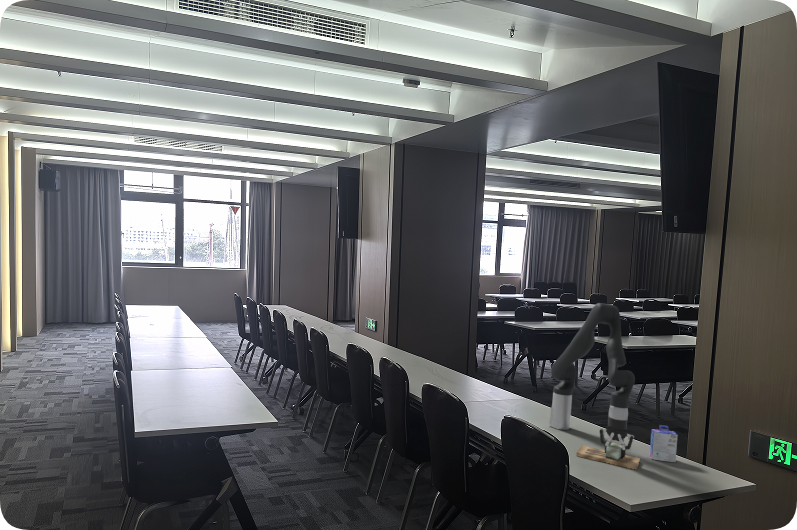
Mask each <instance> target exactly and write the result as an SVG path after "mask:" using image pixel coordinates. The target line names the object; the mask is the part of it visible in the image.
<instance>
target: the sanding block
mask: <svg viewBox="0 0 797 530" xmlns="http://www.w3.org/2000/svg"><path fill="white" fill-rule="evenodd" d="M621 452H622V446H621V444H620V443H616V442H614V441H613V442H610V443H609V446H607V448H606V458H609V459H612V460H616V461H619V460H620V459H621Z"/></svg>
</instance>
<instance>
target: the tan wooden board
mask: <svg viewBox="0 0 797 530" xmlns="http://www.w3.org/2000/svg"><path fill="white" fill-rule="evenodd" d="M575 455H576V457H578V456H579V458H583V459H587V458H588V460H591V461H597V462H600V461H601V463H604V462H606V463H605V464H608V463H610V464H609V465H613V464H614V465H613V466H617V465H619V466H618V467H621V466H623V467H622V468H625V467H627V468H626V469H630V468H632V469H631V470H634V469H635V470H634V471H637V470H638V467H639V464H640V463H641V458H640V457H636V456H631V455H627V454H625V457H623V459H622V458H621V459H620V460H619V461H616V460H612V459H609V458H606V453H605V449H600V448H596V447H591V446H587V445H581V446H580V448H578V449H577V452H576V454H575ZM639 462H640V463H639Z"/></svg>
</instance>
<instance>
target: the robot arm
mask: <svg viewBox="0 0 797 530" xmlns="http://www.w3.org/2000/svg"><path fill="white" fill-rule="evenodd" d="M620 313H621V312H620V310H619V308H618V306H616V305H614V304H609V303H602V302H598V303H595V305H594V306H592V308H591V310H590V312H589V314H588V315H587V318H586V320H585V321H584V323H583V324H582V326H581V328H580V329H579V330H578V331H577V333H576V334H575V336H574V337H573V339H572V340H571V342H570V343H569V344H568V345H567V347H566V348H565V349H564V351H563V352H562V353H561V355H560V356H559V357H558V358H557V359H556V360H555V361H554V362H553V364H552V366H551V367H550V368H551V369H550V375H551V377H552V378H553V379H554V380H557V381H560V382H559V383H558V384H556V385H554V386H553V391H552V403H551V407H550V414H549V415H550V416H549V427H551V428H553V429H557V430H564V431H565V430H567V431H568V430H569V429H570V426H571V415H572V404H573V403H572V401H573V392H574V390H575V385H576V384H575V382H576V377H577V369H576V366H575V364H574V363H575V362H577V361H579V360H580V359H582V358H584V357H585V356H587V355H588V353H589V352H590V351H591V349H592V348H593V347H594V345H595V342H596V339H595V338H596V337H595V330H596V328H597V326H598V325H599V324H602V325H608V326H609V329H610V334H609V337H608V340H607V342H606V345H605V351H606V355H607V360H608V370H607V371H608V372H607V373H608V374H607V380H608V383H609V384H610V385H611V386H612V387H617V388H618V387H620V389H619V390H615V391H612V392H611V394H610V403H609V409H608V418H607V428H603V427H602V428H600V429H599V439H600V443H601V444H602V445H604V446H605V447H604V450H605V453H606V448H607V446H609V445H610V444H611V441H617V442H619V444H621V446H622V452H621V458H622V459H623V457H625V455H626V452H627V451H628V450H631V447H632V444H633V442H634V438H635V435H634V434H629V433H628V430H627V429H628V417H629V410H628V409H629V399H630V396H631V393H632V390H633V388H634V386H635V382H636V378H635V377H636V376H635V374H634V373H633V372H632V371H631V370H629V369H628V370H627V369H626V370H624V369H618V368H621V367H624V366H625V365H626V364H627V359H626V354H625V351H624V347H623V343H622V342H623V341H622V339H623V338H622V327H621V324H622V323H621V314H620ZM605 434H607V436H608V438H607V441H606V439H605ZM626 437H627V440H628V443H627V445H626V442H625V438H626ZM626 450H627V451H626Z"/></svg>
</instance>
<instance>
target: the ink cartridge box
mask: <svg viewBox="0 0 797 530" xmlns="http://www.w3.org/2000/svg"><path fill="white" fill-rule="evenodd" d="M650 432H651V433H650V448H649V458H651V460H655V461H662V462H663V461H664V462H667V463H670V462H671V463H676V462H677V461H676V460H677V448H678V447H677V445H678V436H679V435H678V433H676V432H675V431H673V430H672V431H671V430H670V429H669V426H668V425H662V424H659V429H653V428H652V429H651V431H650Z"/></svg>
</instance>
